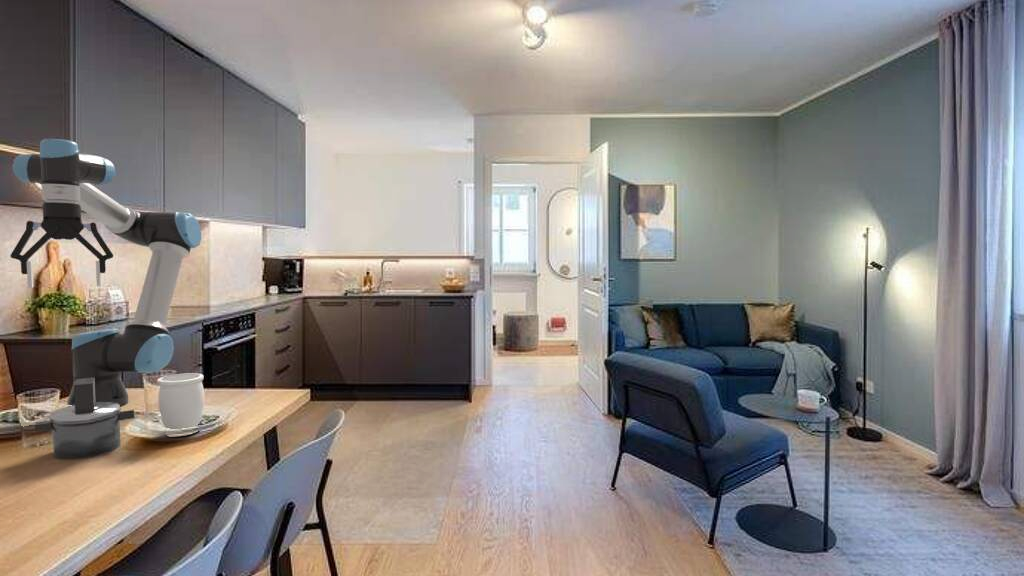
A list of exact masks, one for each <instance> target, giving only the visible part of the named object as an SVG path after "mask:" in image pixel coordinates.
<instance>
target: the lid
mask: <svg viewBox="0 0 1024 576" xmlns="http://www.w3.org/2000/svg"><path fill="white" fill-rule="evenodd" d="M73 384H74V383H73ZM74 396H75V405H73V406H68V407H67V406H66V407H65V406H64V407H61V408H59V409H55V410H54V411H52V412H50V413H49V421H50V420H51V421H53V422H60V423H70V422H82V421H89V420H95V419H100V418H104V417H107V416H111V415H113V414H116V413H117V412H119V411H120V408H121V406H120V405H119V404H118V403H113V402H96V397H95V377H92V378H82V379H76V382H75V384H74Z"/></svg>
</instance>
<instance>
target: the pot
mask: <svg viewBox="0 0 1024 576" xmlns="http://www.w3.org/2000/svg"><path fill="white" fill-rule="evenodd" d="M121 409H122V407H120V411H119V412H117V413H116V414H113V415H111V416H107V417H104V418H100V419H95V420H89V421H82V422H70V423H60V422H53V421H51V420H50V419H49V420H45V421H44V420H43V421H36V422H35V424H34V432H42V431H49V430H52V431H51V432H52V451H53V457H54V458H56V459H58V460H80V459H88V458H93V457H97V456H102V455H104V454H108V453H110V452H113V451H115V450H117V449H119V447H120V446H121V445H122V443H121V440H122V439H121V438H122V437H121V422H120V421H125V420H129V419H131V420H132V419H135V410H134V409H131V410H123V411H122V410H121Z"/></svg>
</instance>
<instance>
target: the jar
mask: <svg viewBox="0 0 1024 576" xmlns="http://www.w3.org/2000/svg"><path fill="white" fill-rule="evenodd" d="M203 380H204V374H202V373H198V372H197V373H196V372H195V373H194V372H192V373H191V372H186V373H185V372H184V373H183V372H182V373H177V374H170V375H165V376H162V377H160V378H157V385H159V390H158V401H157V403H158V408H159V413H160V418H161V421H162V424H163V426H164V428H165V427H166V428H170V429H182V428H189V427H193V426H196V425H198V424H200V423H201V420H202V417H203V414H204V413H203V412H204V407H205V406H204V405H205V390H204V385H203V383H202V381H203ZM166 428H165V429H166Z"/></svg>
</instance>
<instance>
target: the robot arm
mask: <svg viewBox="0 0 1024 576" xmlns="http://www.w3.org/2000/svg"><path fill="white" fill-rule="evenodd" d="M78 147H79V146H78V143H76V142H74V141H72V140H67V139H62V138H60V139H59V138H43V139H41V141H40V142H39V153H35V152H34V153H28V154H20V155H17V156H16V157H15V158H14V161H13V163H12V171H13V173H14V175H15V177H16V178H17V179H18V180H19V181H21V182H23V183H30V184H36V183H37V184H39V185H41V199H42V200H43V201H44V202H43V203H42V221H41V222H39V221H38V222H37V221H32V220H28V221H26V223H25V224H26V225H25V230H24V232H23V234H22V235H21V237H20V238H19V240H18V242H17V243H16V245H15V247H14V248H13V250H12V251H11V253H10V255H9V256H10V258H11V259H15V260H18V261H19V262H20V269H21V271H20V272H21V274H22V275H27V276H26V277H27V288H28V289H33V288H34V269H33V267H34V266H33V261H32V260H29V259H30V258H31V257H32V256H34V254H35V253H36V252H38V251H39V250H40V249H41V248H42V247H43V246H44V245H45V244H46V243H47V242H48V241H49V240H51V239H53V240H57V241H59V240H71V241H72V240H74V239H76V240H77V241H78V242H79V243H80V244H82V245H83V247H85V248H86V249H87V250H88V251H89V252H91V254H92V255H93V256H95V257H96V258H97V259H98V260H96V261H95V271H96V272H95V273H96V274H95V276H96V287H101V286H102V282H101V274H105V273H106V271H107V269H106V261H107V260H109V259H112V258H113V257H114V254H113V252H112V250H111V249H110V248H109V246H108V245H107V243H106V241H105V240H104V239H103V237H102V236H101V234H100V232H99V229H98V225H97V223H96V222H90V223H83V222H82V211H83V212H85V213H87V214H88V215H89V216H90V217H93V218H95V220H97V221H99V222H101V223H102V224H104V225H105V226H104V227H105V228H106V229H107V231H109V232H110V233H113V235H115V236H117V237H119V238H121V239H123V240H124V241H128V242H130V243H132V244H135V245H138V246H141V247H147V248H149V250H150V251H151V252H152V253H151V256H150V257H151V258H150V261H149V263H148V267H147V271H146V275H145V279H144V281H143V282H144V283H143V286H142V289H141V293H140V296H139V299H138V303H137V307H136V311H135V314H134V317H133V321H131V322H130V323H128V324H126V325H125V327H124V331H123V333H120V330H119V328H107V329H99V330H93V331H92V330H91V331H87V332H81V333H77V334H75V335H74V336H73V337H72V339H71V359H72V375H73V377H72V378H73V385H72V387H71V390H70V394H69V395H68V398H67V402H66V406H67V405H72V406H73V405H75V396H74V384H75V382H76V379H82V378H92V377H95V397H96V402H113V403H118V404H119V405H120V407H122V406H124V405H126V404H129V393H128V392H127V389H126V387H125V384H124V382H123V380H122V377H121V373H141V374H147V373H157V372H160V371H161V370H163V369H165V368H166V367H167V365H168V364H169V363H170V362H171V361H172V358H173V356H174V350H175V346H174V344H175V343H174V340H173V339H172V337H171V336H170V335H169V334H170V331H169V330H168V329H167V327H166V324H167V320H168V316H169V312H170V310H171V305H172V302H173V301H172V300H173V299H174V294H175V293H174V292H175V290H176V285H177V282H178V277H179V274H180V271H181V266H182V263H183V259H185V258H188V257H189V256H190V253H191V252H190V251H191V249H195V248H198V247H199V246H200V244H201V242H202V241H201V240H202V230H201V226H200V223H199V222H198V219H197V218H196V217H195V216H194V215H193V214H191V213H190V212H179V211H176V212H165V211H164V212H159V211H157V212H154V211H140V210H135V209H133V208H131V206H128V205H121V204H120V203H119V202H117V201H116V200H114V199H113V198H112V197H110V196H108V195H107V194H106V193H104V192H102V191H101V190H100V189H98V188H97V187H96V186H94V185H97V186H99V185H108V184H109V183H112V182H113V180H114V179H115V177H116V168H115V167H116V166H114V163H113V162H111V160H110V159H107V158H105V157H102V156H100V155H93V154H90V153H83V152H80V150H79V148H78ZM39 228H41V229H42V230H43V231H45V233H44V234H43V235H42V236H41V238H39V239H38V240H37V241H36V242H35V243H34V244H33V245H31V247H30V248H29V249H28V250H27V251H26V252H25V253H23V255H22V252H23V250H24V249H25V247H26V245H27V244H28V242H29V240H30V238H31V237H32V235H33V233H34V231H37V230H38V229H39ZM84 229H86V230H87V232H91V234H92V235H93V237H94V238H95V240H96V241H97V242H98V245H99V246H100V248H101V249H102V251H103V252H104V255H103V254H102V253H101V252H100V251H99V250H97V248H95V247H94V246H93V245H92V244H91V243H90V242H89V240H87V239H86V238H85V237H84V235H81V234H80V233H81V232H82V231H83V230H84ZM156 371H157V372H156Z"/></svg>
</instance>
